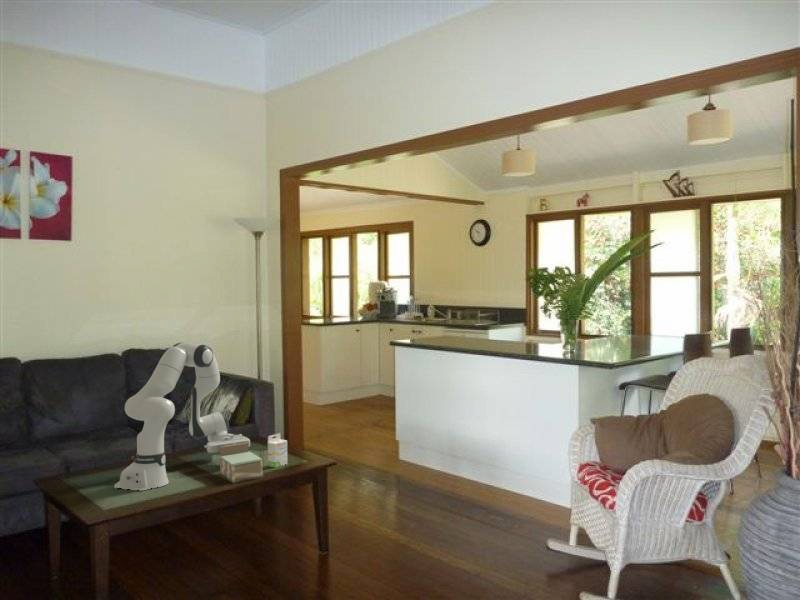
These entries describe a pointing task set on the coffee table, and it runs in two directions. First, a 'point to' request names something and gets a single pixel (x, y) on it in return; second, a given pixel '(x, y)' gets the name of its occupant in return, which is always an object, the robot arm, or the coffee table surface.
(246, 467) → the box
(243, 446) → the lid
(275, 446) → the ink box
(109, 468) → the coffee table surface
